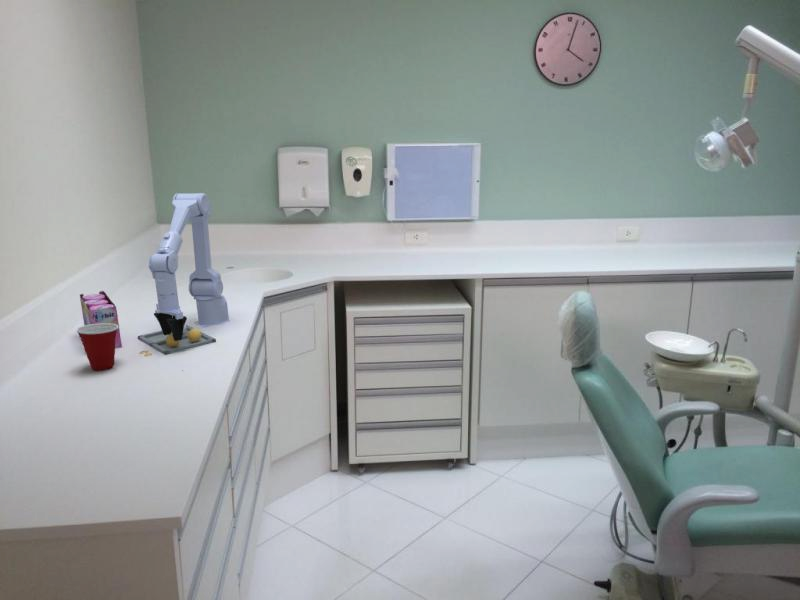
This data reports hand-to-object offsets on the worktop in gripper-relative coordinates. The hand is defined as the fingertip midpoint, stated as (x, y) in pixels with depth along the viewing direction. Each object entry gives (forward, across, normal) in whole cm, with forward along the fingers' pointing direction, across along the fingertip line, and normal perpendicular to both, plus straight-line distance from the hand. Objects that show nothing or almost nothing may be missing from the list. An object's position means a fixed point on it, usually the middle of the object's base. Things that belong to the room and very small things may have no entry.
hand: (172, 337), depth 205 cm
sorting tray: (+3, -5, +3) cm, 7 cm away
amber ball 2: (+3, 0, +6) cm, 7 cm away
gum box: (+4, -23, -13) cm, 27 cm away
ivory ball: (+3, -10, +6) cm, 12 cm away
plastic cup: (+4, +1, -21) cm, 21 cm away
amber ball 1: (+3, 0, 0) cm, 3 cm away
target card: (+3, 0, -8) cm, 9 cm away
